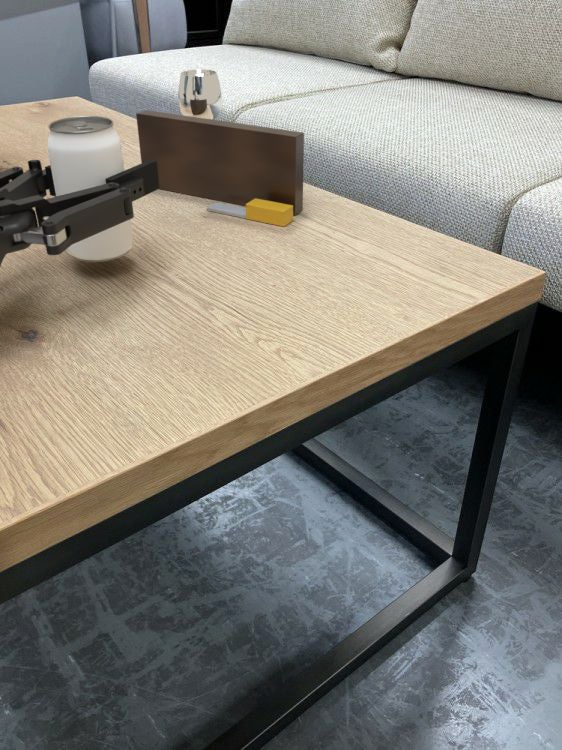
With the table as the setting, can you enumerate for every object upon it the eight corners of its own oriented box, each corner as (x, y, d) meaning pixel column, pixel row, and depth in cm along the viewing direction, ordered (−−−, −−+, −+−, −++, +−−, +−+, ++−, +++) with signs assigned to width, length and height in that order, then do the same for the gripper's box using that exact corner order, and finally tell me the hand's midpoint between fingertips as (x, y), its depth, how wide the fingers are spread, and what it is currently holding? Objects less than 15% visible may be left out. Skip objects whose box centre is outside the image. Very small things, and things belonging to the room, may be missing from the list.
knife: (206, 210, 83) (205, 196, 82) (216, 205, 84) (215, 190, 83) (284, 226, 78) (284, 211, 77) (293, 220, 80) (293, 205, 79)
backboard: (143, 185, 90) (135, 113, 85) (153, 181, 92) (145, 109, 87) (295, 215, 81) (296, 136, 76) (302, 210, 83) (304, 132, 78)
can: (118, 232, 72) (102, 111, 66) (144, 253, 68) (129, 126, 61) (57, 245, 69) (33, 121, 63) (80, 269, 65) (57, 137, 58)
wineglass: (233, 165, 97) (230, 72, 91) (201, 174, 94) (195, 79, 87) (206, 156, 101) (201, 66, 94) (175, 165, 97) (167, 72, 91)
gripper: (-141, 272, 58) (57, 190, 75) (33, 328, 50) (210, 222, 67) (-173, 182, 54) (44, 117, 71) (11, 228, 46) (205, 143, 63)
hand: (125, 168), depth 69 cm, fingers closed on can, 6 cm apart
